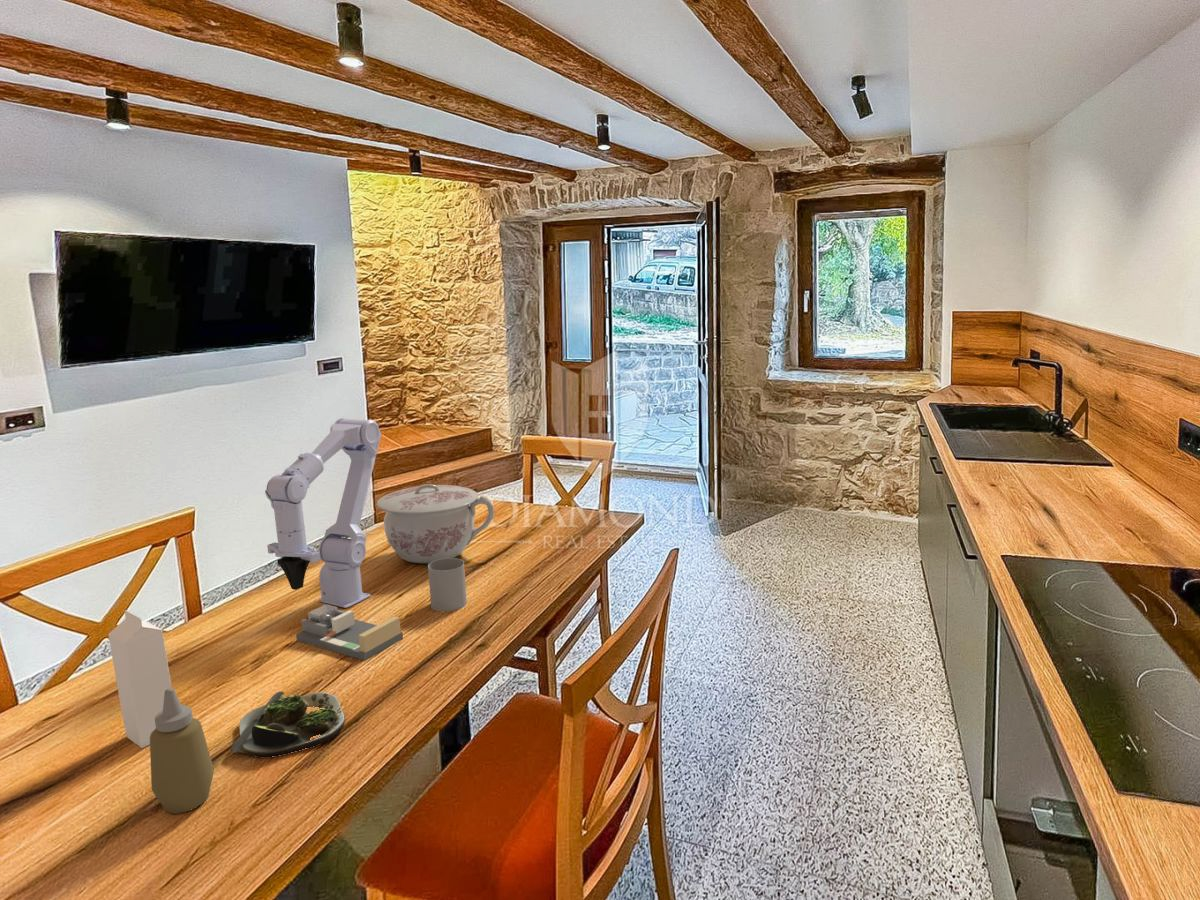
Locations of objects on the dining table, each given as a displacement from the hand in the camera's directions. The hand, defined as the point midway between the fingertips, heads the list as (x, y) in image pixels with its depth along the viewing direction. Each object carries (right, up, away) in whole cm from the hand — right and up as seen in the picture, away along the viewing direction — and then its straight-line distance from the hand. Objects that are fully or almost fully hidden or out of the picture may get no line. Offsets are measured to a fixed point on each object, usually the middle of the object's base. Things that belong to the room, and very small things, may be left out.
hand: (297, 587), depth 168 cm
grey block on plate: (+8, -8, -3) cm, 12 cm away
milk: (-9, -18, -39) cm, 44 cm away
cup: (+31, -6, +12) cm, 34 cm away
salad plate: (+14, -18, -38) cm, 44 cm away
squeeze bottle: (+6, -22, -56) cm, 60 cm away
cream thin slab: (+12, -8, -6) cm, 15 cm away
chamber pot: (+20, +1, +45) cm, 49 cm away
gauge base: (+13, -10, -5) cm, 18 cm away
